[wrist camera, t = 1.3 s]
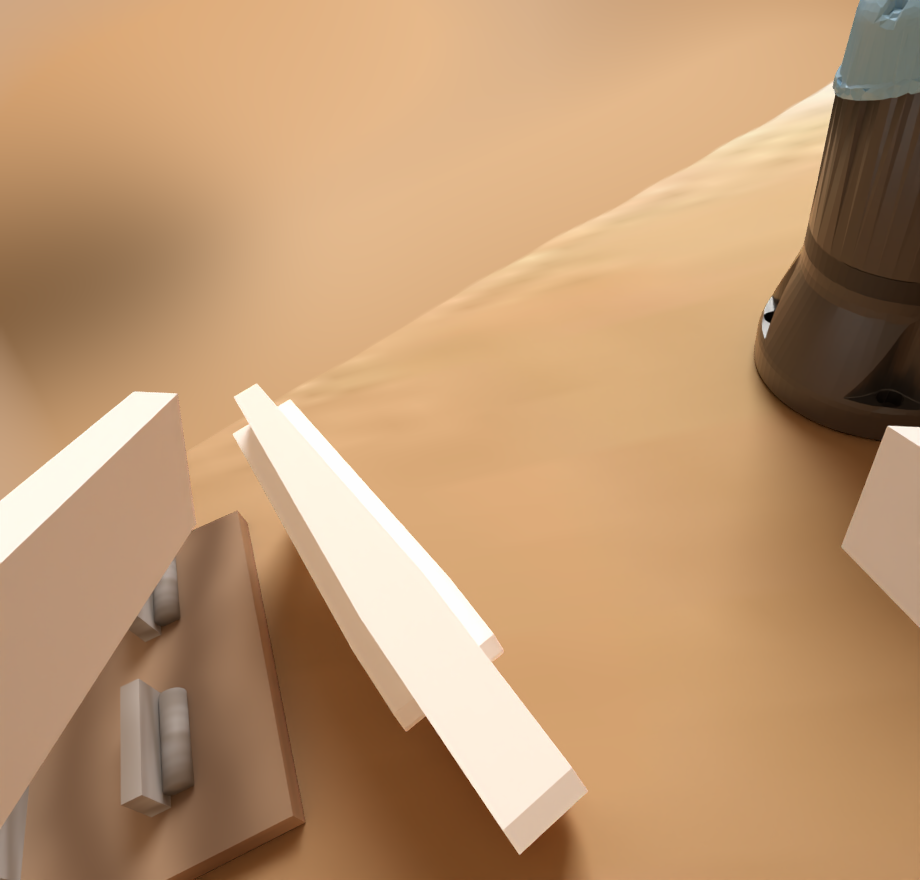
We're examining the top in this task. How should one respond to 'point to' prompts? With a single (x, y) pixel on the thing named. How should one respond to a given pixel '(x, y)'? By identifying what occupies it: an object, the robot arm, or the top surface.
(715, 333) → the top surface
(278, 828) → the hinge board
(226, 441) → the top surface
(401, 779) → the top surface
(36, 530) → the robot arm
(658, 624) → the top surface
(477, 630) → the shelf bracket
